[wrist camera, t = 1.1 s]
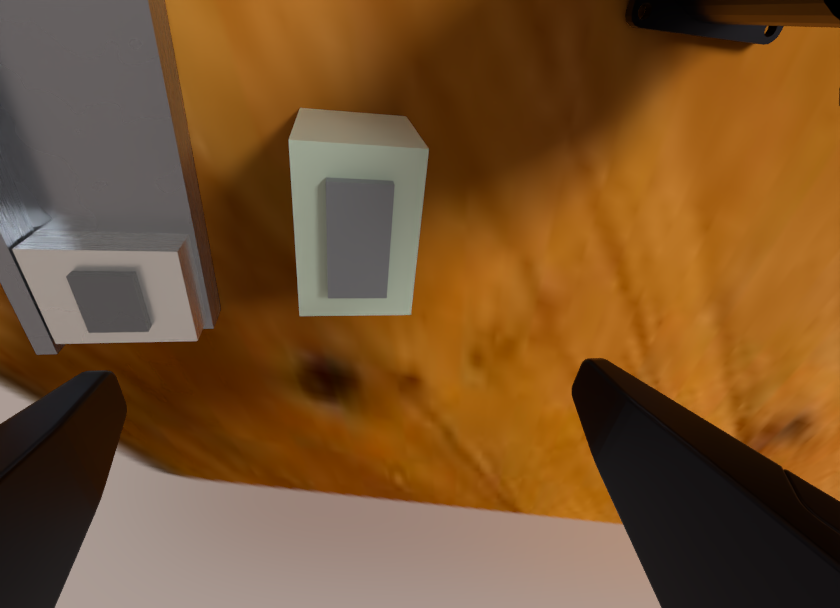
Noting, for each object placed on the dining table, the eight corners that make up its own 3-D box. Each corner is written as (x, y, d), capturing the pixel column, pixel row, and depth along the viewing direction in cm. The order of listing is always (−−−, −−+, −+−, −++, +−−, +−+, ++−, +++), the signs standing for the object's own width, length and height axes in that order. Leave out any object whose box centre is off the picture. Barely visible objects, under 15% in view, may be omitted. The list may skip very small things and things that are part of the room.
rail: (44, -660, 8) (-109, -1013, 5) (221, 309, 20) (202, 356, 17) (-386, -818, 7) (-872, -1380, 4) (75, 310, 19) (30, 361, 16)
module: (405, 115, 17) (431, 152, 12) (395, 253, 20) (412, 321, 16) (300, 107, 16) (287, 143, 12) (306, 251, 19) (298, 322, 15)
